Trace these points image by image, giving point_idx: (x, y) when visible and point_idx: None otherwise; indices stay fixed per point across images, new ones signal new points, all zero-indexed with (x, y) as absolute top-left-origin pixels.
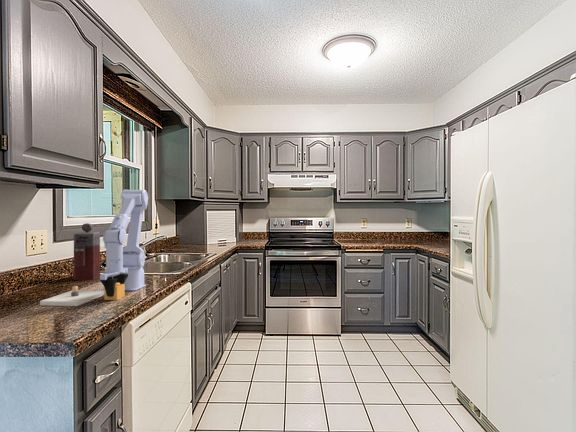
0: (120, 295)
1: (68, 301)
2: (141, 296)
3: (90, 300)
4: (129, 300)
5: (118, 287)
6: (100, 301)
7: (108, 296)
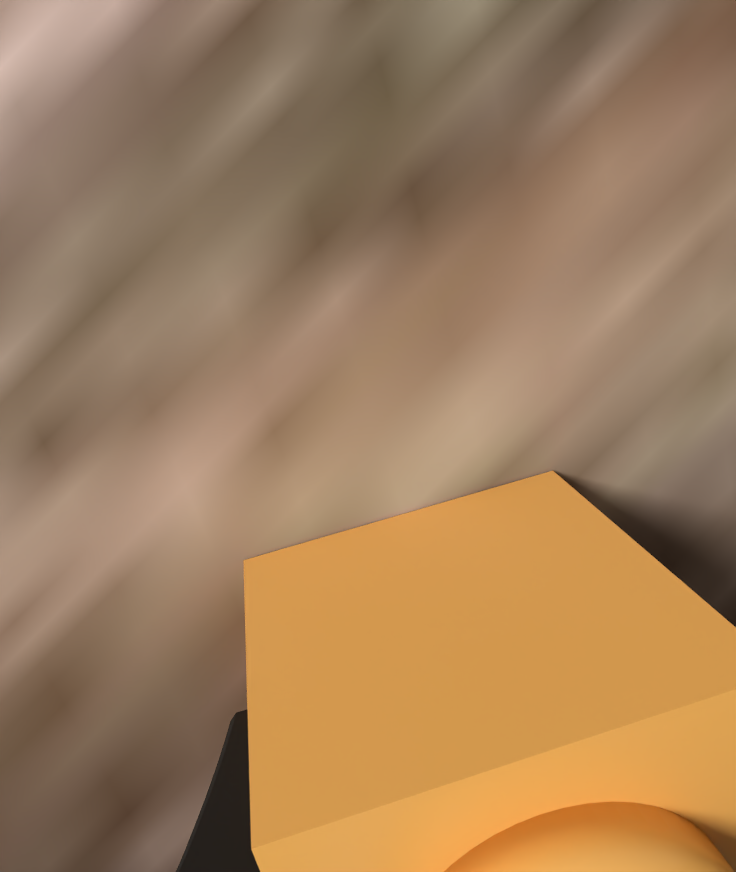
0: (441, 542)
1: None
2: (39, 94)
3: None
4: (520, 125)
5: (667, 672)
6: None
7: None
